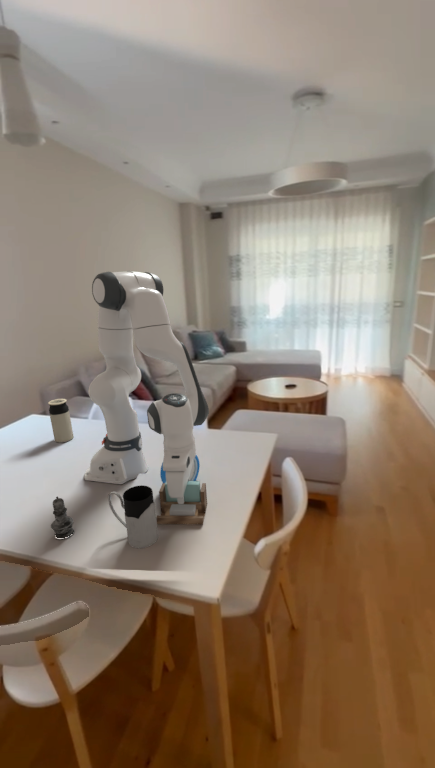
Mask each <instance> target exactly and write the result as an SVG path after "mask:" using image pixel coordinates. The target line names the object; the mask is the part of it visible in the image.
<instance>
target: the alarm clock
mask: <svg viewBox="0 0 435 768" xmlns="http://www.w3.org/2000/svg"><path fill="white" fill-rule="evenodd" d="M200 466H201V465H200V459H199V457H198V454H196V456H195V458H194V462H193V466H192V470H191V473H190V481H197V480H198V479H197V478H198V476H199V472H200ZM159 472H160V474H159V475H160V479H161V482H162V484H163V483H166V471H163V462H162V463H161V465H160V471H159Z"/></svg>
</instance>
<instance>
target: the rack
mask: <svg viewBox="0 0 435 768" xmlns="http://www.w3.org/2000/svg"><path fill="white" fill-rule="evenodd" d="M200 490H201V491H200V494H201V502H184V504H196V509H198V516H166V515H165V513H166V511H167V509H170V508H171V505H172V504H178V502H167V501H166V491H165V483H163V482H162V485H160V488H159V491H158V494H159V502H160V505H159V506H160V512H161V513H160V514H159V515H157V514H156V520H157V525H204V521H205V517H206V511H207V507H208V496H207V495H208V493H207V483H205V482H202V484H201V486H200Z"/></svg>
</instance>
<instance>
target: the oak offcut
mask: <svg viewBox="0 0 435 768" xmlns="http://www.w3.org/2000/svg"><path fill="white" fill-rule="evenodd" d="M169 511H170V509H167V511H166V513H165V515H166V516H170V512H169ZM195 516H198V509H196V512H195Z"/></svg>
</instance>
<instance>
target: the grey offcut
mask: <svg viewBox="0 0 435 768" xmlns="http://www.w3.org/2000/svg"><path fill="white" fill-rule="evenodd" d="M169 512H170V516H195V512H196V504H172V505H171V508H170V511H169Z"/></svg>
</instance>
